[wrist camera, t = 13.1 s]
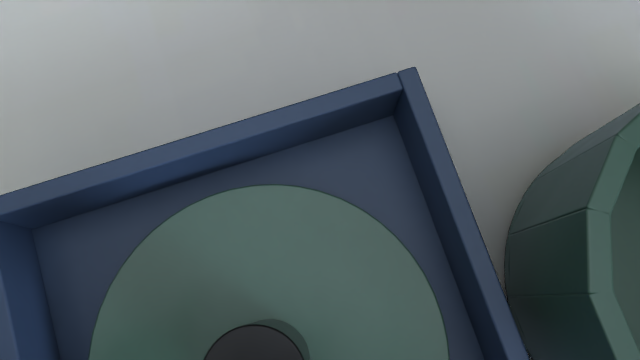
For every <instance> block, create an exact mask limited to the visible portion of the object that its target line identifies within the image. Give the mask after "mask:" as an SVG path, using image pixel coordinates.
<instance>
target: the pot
mask: <svg viewBox="0 0 640 360" xmlns="http://www.w3.org/2000/svg"><path fill="white" fill-rule="evenodd" d="M504 267H505V284H506V291H507V296H508V302H509V307H510V310H511V313H512V315H513V318H514V320H515V323H516V326H517V328H518V331H519V333H520V336H521V338H522V341H523V343H524V345H525V347H526V349H527V351H528V352H529V354H530V355H531V357H532V359H533V360H640V104H638V105H636V106H635V107H633V108H632V109H630V110H628V111H627V112H625V113H624V114H622V115H620V116H619V117H617V118H615V119H614V120H612V121H611V122H609V123H607V124H606V125H604V126H603V127H601V128H599V129H598V130H596V131H595V132H593V133H591V134H590V135H588V136H586V137H585V138H583V139H582V140H580V141H578V142H577V143H575V144H574V145H572V146H571V147H570V148H569V149H568V150H567V151H566V152H565V153H563V154H562V155H561V156H560V157H558V158H557V159H556V160H555V161H553V162H552V163H551V164H549V165H548V166H547V167H546V168H545V169H544V170H543V171H542V172H541V173H540V174H539V175H538V177H537V178H536V179H535V180H534V181H533V183H532V184H531V185H530V187H529V188H528V190H527V191H526V192H525V194H524V196H523V198H522V200H521V202H520V204H519V205H518V207H517V209H516V212H515V215H514V217H513V220H512V223H511V226H510V229H509V234H508V239H507V244H506V252H505V266H504Z"/></svg>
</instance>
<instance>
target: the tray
mask: <svg viewBox="0 0 640 360" xmlns="http://www.w3.org/2000/svg"><path fill="white" fill-rule="evenodd" d="M261 184H283V185H295V186H301V187H306V188H311V189H315V190H320V191H323V192H325V193H328V194H331V195H334V196H337V197H339V198H342V199H344V200H346V201H348V202H350V203H352V204H354V205H356V206H358V207H359V208H361V209H363V210H364V211H366V212H367V213H369V214H370V215H371V216H373V217H374V218H376V219H377V220H379V221H380V222H381V223H382V224H383V225H385V226H386V227H387V228H388V229H389V230H390V231H391V232H392V233H394V234H395V235H396V236H397V237H398V239H399V240H400V241H401V242H402V243H403V244H404V245H405V247H406V248H407V249H408V250H409V251H410V252H411V253H412V255H413V256H414V258H415V259H416V261H417V262H418V264H419V265H420V267H421V268H422V270H423V271H424V273H425V275H426V277H427V279H428V281H429V283H430V285H431V287H432V289H433V291H434V293H435V295H436V298H437V301H438V304H439V307H440V310H441V312H442V315H443V319H444V324H445V328H446V333H447V337H448V344H449V356H450V360H530V359H529V356H528V354H527V351H526V349H525V346H524V344H523V341H522V338H521V336H520V333H519V331H518V328H517V326H516V323H515V320H514V318H513V315H512V313H511V310H510V308H509V305H508V303H507V300H506V297H505V295H504V292H503V290H502V287H501V285H500V282H499V279H498V277H497V274H496V272H495V269H494V267H493V264H492V261H491V259H490V256H489V254H488V251H487V249H486V246H485V244H484V241H483V238H482V236H481V233H480V231H479V228H478V226H477V223H476V220H475V218H474V215H473V213H472V210H471V208H470V205H469V202H468V200H467V197H466V195H465V192H464V190H463V187H462V185H461V182H460V179H459V177H458V174H457V172H456V169H455V167H454V164H453V161H452V159H451V156H450V154H449V151H448V149H447V146H446V143H445V141H444V138H443V136H442V133H441V131H440V128H439V126H438V123H437V120H436V118H435V115H434V113H433V110H432V108H431V105H430V102H429V100H428V97H427V95H426V92H425V90H424V87H423V84H422V82H421V79H420V77H419V74H418V72H417V69H416V67H411V68H408V69H405V70H402V71H399V72H398V73H392V74H389V75H386V76H382V77H379V78H376V79H373V80H369V81H366V82H363V83H360V84H357V85H353V86H350V87H347V88H344V89H341V90H337V91H334V92H331V93H328V94H325V95H321V96H318V97H315V98H312V99H308V100H305V101H302V102H299V103H296V104H292V105H289V106H286V107H283V108H280V109H276V110H273V111H270V112H267V113H263V114H260V115H257V116H254V117H251V118H247V119H244V120H241V121H238V122H235V123H231V124H228V125H225V126H222V127H218V128H215V129H212V130H209V131H206V132H202V133H199V134H196V135H193V136H190V137H186V138H183V139H180V140H177V141H173V142H170V143H167V144H164V145H161V146H157V147H154V148H151V149H148V150H145V151H141V152H138V153H135V154H132V155H129V156H125V157H122V158H119V159H116V160H112V161H109V162H106V163H103V164H100V165H96V166H93V167H90V168H87V169H84V170H80V171H77V172H74V173H71V174H67V175H64V176H61V177H58V178H55V179H51V180H48V181H45V182H42V183H39V184H35V185H32V186H29V187H26V188H22V189H19V190H16V191H13V192H10V193H6V194H3V195H0V360H88V356H89V350H90V344H91V338H92V332H93V329H94V325H95V322H96V319H97V315H98V312H99V309H100V306H101V304H102V302H103V300H104V297H105V295H106V293H107V290H108V288H109V286H110V284H111V283H112V281H113V279H114V278H115V276H116V274H117V272H118V271H119V269H120V267H121V266H122V264H123V263H124V262H125V261H126V259H127V258H128V257H129V255H130V254H131V253H132V251H133V250H134V249H135V248H136V247H137V245H138V244H139V243H140V242H141V241H142V240H143V239H144V238H145V237H146V236H147V235H148V234H149V233H150V232H151V231H152V230H154V229H155V228H156V227H157V226H159V225H160V224H161V223H162V222H164V221H165V220H166V219H167V218H169V217H170V216H172V215H173V214H175V213H176V212H178V211H180V210H181V209H183V208H185V207H186V206H188V205H190V204H192V203H194V202H196V201H198V200H201V199H203V198H205V197H207V196H210V195H213V194H216V193H219V192H222V191H226V190H229V189H232V188H238V187H244V186H250V185H261Z"/></svg>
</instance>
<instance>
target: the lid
mask: <svg viewBox="0 0 640 360" xmlns="http://www.w3.org/2000/svg"><path fill="white" fill-rule="evenodd" d="M88 360H450V356H449V344H448V337H447V333H446V328H445V324H444V319H443V315H442V312H441V310H440V307H439V304H438V301H437V298H436V295H435V293H434V291H433V289H432V287H431V285H430V283H429V281H428V279H427V277H426V275H425V273H424V271H423V270H422V268H421V267H420V265H419V264H418V262H417V261H416V259H415V258H414V256H413V255H412V253H411V252H410V251H409V250H408V249H407V248H406V247H405V245H404V244H403V243H402V242H401V241H400V240H399V239H398V237H397V236H396V235H395V234H394V233H392V232H391V231H390V230H389V229H388V228H387V227H386V226H385V225H383V224H382V223H381V222H380V221H379V220H377V219H376V218H374V217H373V216H371V215H370V214H369V213H367V212H366V211H364V210H363V209H361V208H359V207H358V206H356V205H354V204H352V203H350V202H348V201H346V200H344V199H342V198H339V197H337V196H334V195H331V194H328V193H325V192H323V191H320V190H315V189H311V188H306V187H301V186H295V185H283V184H261V185H250V186H244V187H238V188H232V189H229V190H226V191H222V192H219V193H216V194H213V195H210V196H207V197H205V198H203V199H201V200H198V201H196V202H194V203H192V204H190V205H188V206H186V207H185V208H183V209H181V210H180V211H178V212H176V213H175V214H173V215H172V216H170V217H169V218H167V219H166V220H165V221H164V222H162V223H161V224H160V225H159V226H157V227H156V228H155V229H154V230H152V231H151V232H150V233H149V234H148V235H147V236H146V237H145V238H144V239H143V240H142V241H141V242H140V243H139V244H138V245H137V247H136V248H135V249H134V250H133V251H132V253H131V254H130V255H129V257H128V258H127V259H126V261H125V262H124V263H123V264H122V266H121V267H120V269H119V271H118V272H117V274H116V276H115V278H114V279H113V281H112V283H111V284H110V286H109V288H108V290H107V293H106V295H105V297H104V300H103V302H102V304H101V306H100V309H99V312H98V315H97V319H96V322H95V325H94V329H93V332H92V338H91V344H90V350H89V356H88Z"/></svg>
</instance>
